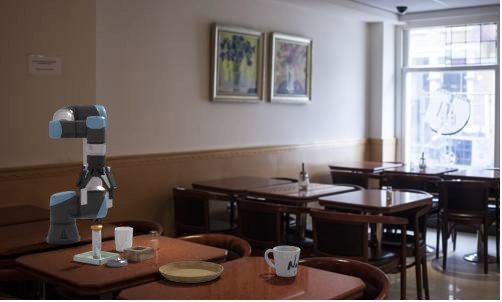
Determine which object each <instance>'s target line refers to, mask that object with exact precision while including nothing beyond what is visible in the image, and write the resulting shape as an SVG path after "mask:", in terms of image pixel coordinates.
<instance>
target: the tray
mask: <svg viewBox="0 0 502 302" xmlns="http://www.w3.org/2000/svg"><path fill="white" fill-rule="evenodd" d="M115 258H120V259H121V254H120V253H116V252H110V251H109V252H108V251H102V250H101V259H100V260H99V259H93V258H92V250H90V251H87V252H86V251H85V252H82V253H78V254H75V255H73V262H78V263H85V264H90V265H97V266H102V265H107V261H108V260H110V259H115Z"/></svg>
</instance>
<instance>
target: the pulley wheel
mask: <svg viewBox="0 0 502 302" xmlns="http://www.w3.org/2000/svg"><path fill="white" fill-rule="evenodd" d="M128 262H129V260H127V259H123V258H121V257H120V258H115V259H110V260H108V261H107V263H106V265H107V267H110V268H123V267H126V266H128V265H129V264H128Z"/></svg>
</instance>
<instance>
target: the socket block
mask: <svg viewBox="0 0 502 302" xmlns="http://www.w3.org/2000/svg"><path fill="white" fill-rule="evenodd" d="M153 258H155V247H150V246H145V245H143V246H142V245H134V246H133V245H132V247H130V248H127V249H123V257H122V259H127V260H128V261H133V262H143V261H148V260H149V259H153Z"/></svg>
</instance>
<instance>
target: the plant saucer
mask: <svg viewBox="0 0 502 302" xmlns="http://www.w3.org/2000/svg"><path fill="white" fill-rule="evenodd" d="M158 270H159V273H160V274H161V275H162V277H164V279H166V280H169V281H171V282H176V283H182V284H183V283H184V284H188V283H189V284H197V283H205V282H211V281H213V280H215V279H216V278H218V277H219V276H220V275H221V274H222V273H223V271H224V267H223V265H221V264H218V263H215V262H210V261H201V260H200V261H197V260H193V261H191V260H188V261H186V260H185V261H176V262H175V261H174V262H169V263H166V264H164V265H162V266H160V267H159V268H158Z"/></svg>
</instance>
